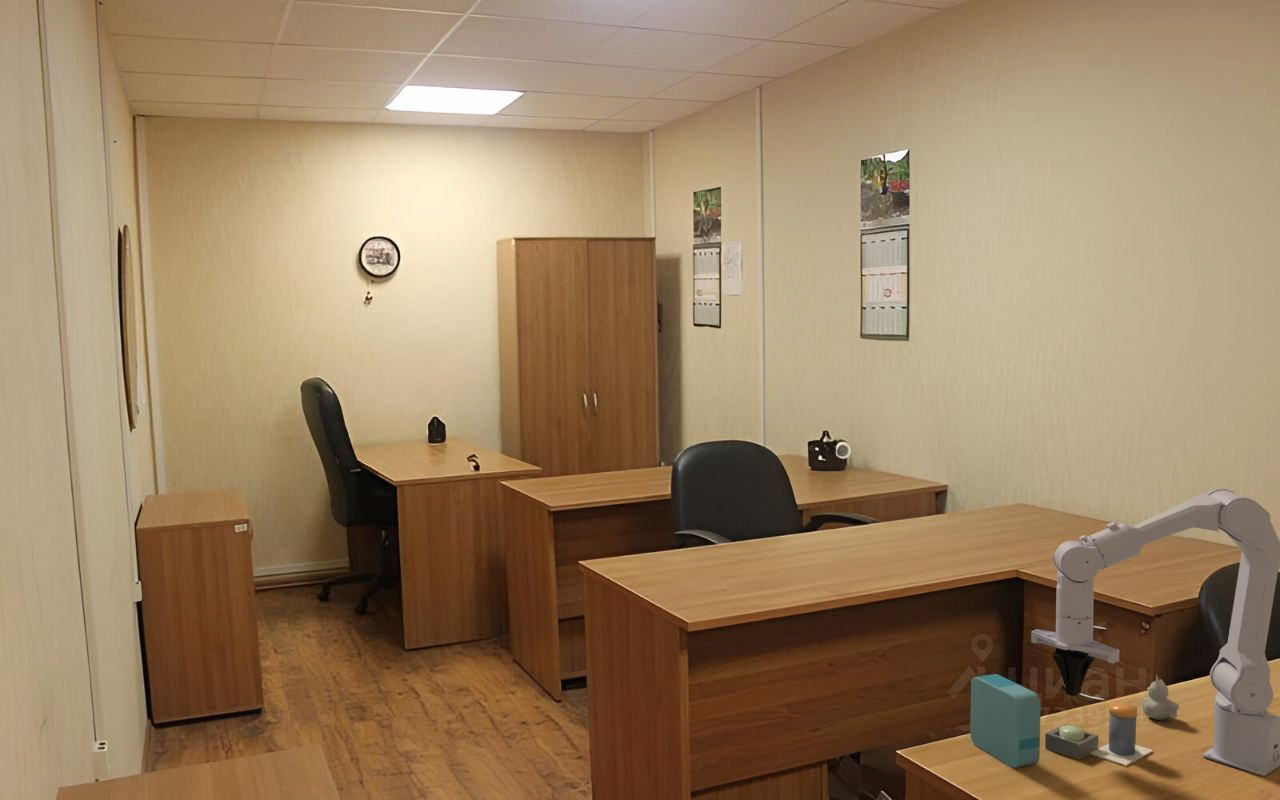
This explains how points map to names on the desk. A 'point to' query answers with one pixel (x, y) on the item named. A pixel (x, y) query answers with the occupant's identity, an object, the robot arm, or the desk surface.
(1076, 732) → the button
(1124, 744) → the orange-capped grey cylinder
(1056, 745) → the button housing
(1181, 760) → the desk surface
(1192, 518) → the robot arm
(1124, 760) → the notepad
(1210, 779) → the desk surface
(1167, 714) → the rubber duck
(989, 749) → the data package
